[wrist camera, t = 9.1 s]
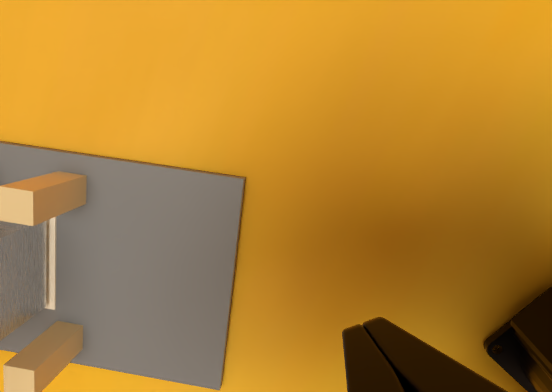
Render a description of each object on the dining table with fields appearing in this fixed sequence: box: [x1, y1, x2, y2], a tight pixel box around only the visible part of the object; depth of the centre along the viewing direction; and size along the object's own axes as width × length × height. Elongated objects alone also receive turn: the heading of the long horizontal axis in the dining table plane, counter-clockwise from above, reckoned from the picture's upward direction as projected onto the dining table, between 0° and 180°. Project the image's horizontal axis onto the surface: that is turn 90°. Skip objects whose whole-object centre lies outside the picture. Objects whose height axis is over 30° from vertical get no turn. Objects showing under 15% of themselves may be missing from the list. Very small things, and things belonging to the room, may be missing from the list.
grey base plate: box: [0, 141, 246, 392], centre depth 20 cm, size 17×12×4 cm
